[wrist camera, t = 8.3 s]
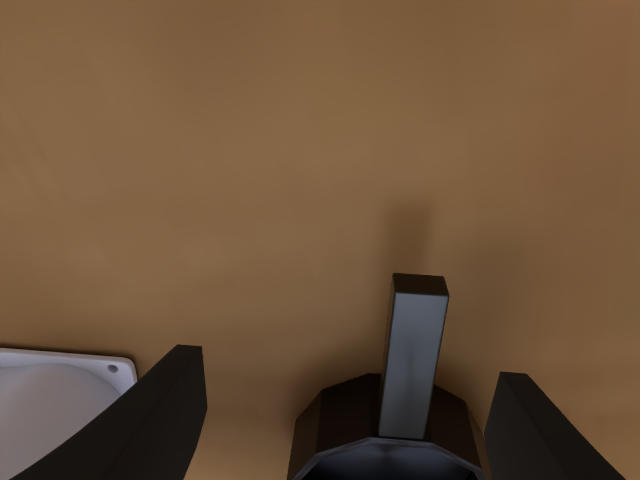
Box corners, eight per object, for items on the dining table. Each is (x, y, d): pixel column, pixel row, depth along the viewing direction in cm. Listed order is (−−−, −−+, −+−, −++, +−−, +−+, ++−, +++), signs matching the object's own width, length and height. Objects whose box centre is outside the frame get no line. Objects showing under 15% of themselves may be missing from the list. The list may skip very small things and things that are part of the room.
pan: (463, 511, 28) (478, 585, 25) (295, 495, 29) (285, 565, 25) (530, 251, 21) (565, 304, 17) (297, 237, 21) (284, 285, 18)
